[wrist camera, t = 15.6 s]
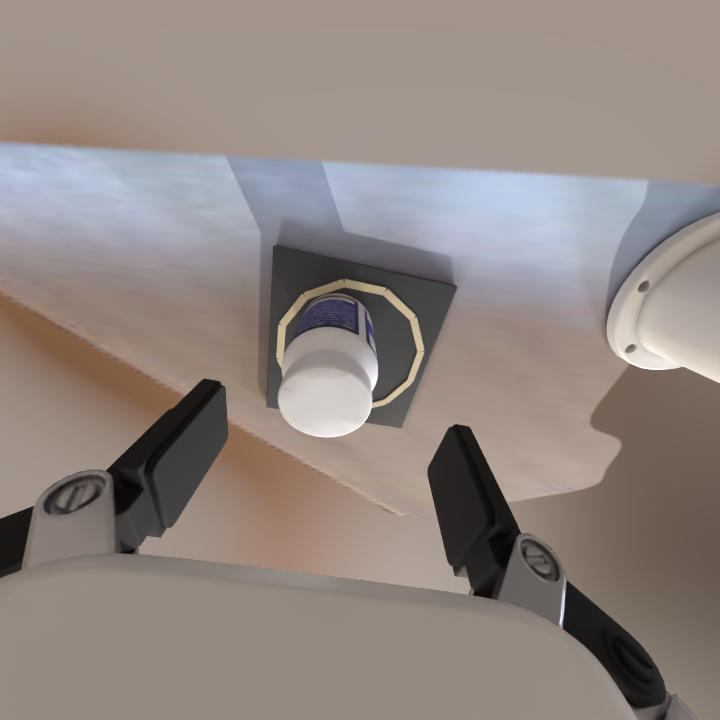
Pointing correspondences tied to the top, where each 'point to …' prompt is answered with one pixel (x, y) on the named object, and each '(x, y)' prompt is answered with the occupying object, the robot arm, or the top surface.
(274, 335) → the board
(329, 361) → the pill bottle
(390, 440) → the top surface
